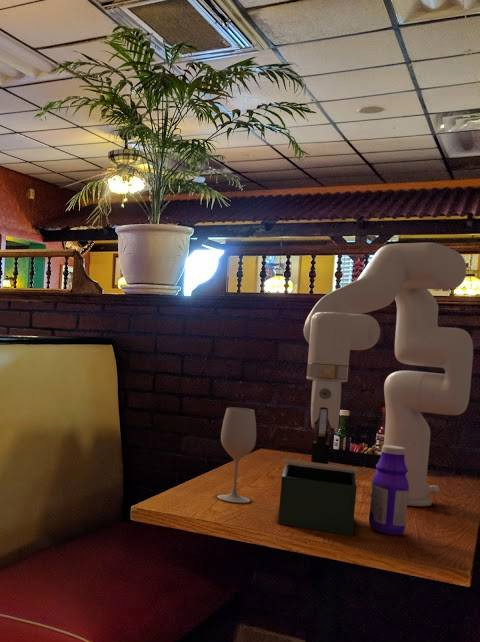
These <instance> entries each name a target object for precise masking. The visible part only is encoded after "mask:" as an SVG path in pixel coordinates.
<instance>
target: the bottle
mask: <svg viewBox="0 0 480 642" xmlns="http://www.w3.org/2000/svg"><path fill="white" fill-rule="evenodd" d="M404 456H405V448H403V447H399V446H392V445H384V444H383V445H382V446H381V454H380V458H379V460H378V461H377V463H376V464H375V468H376V472H375V473H374V475H373V477H372V481H371V483H372V484H371V491H370V492H371V494H370V502H369V503H370V506H369V515H368V523H369V526H370V528H371V529H373V530H374V531H377V532H378V533H380V534H383V535H389V536H401V535H403V534H404V533H405V529H406V524H407V523H406V522H407V511H408V505H407V501H408V490H409V484H408V480H407V477H406V473H407V472H408V469H407V467H406V465H405V458H404Z"/></svg>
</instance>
